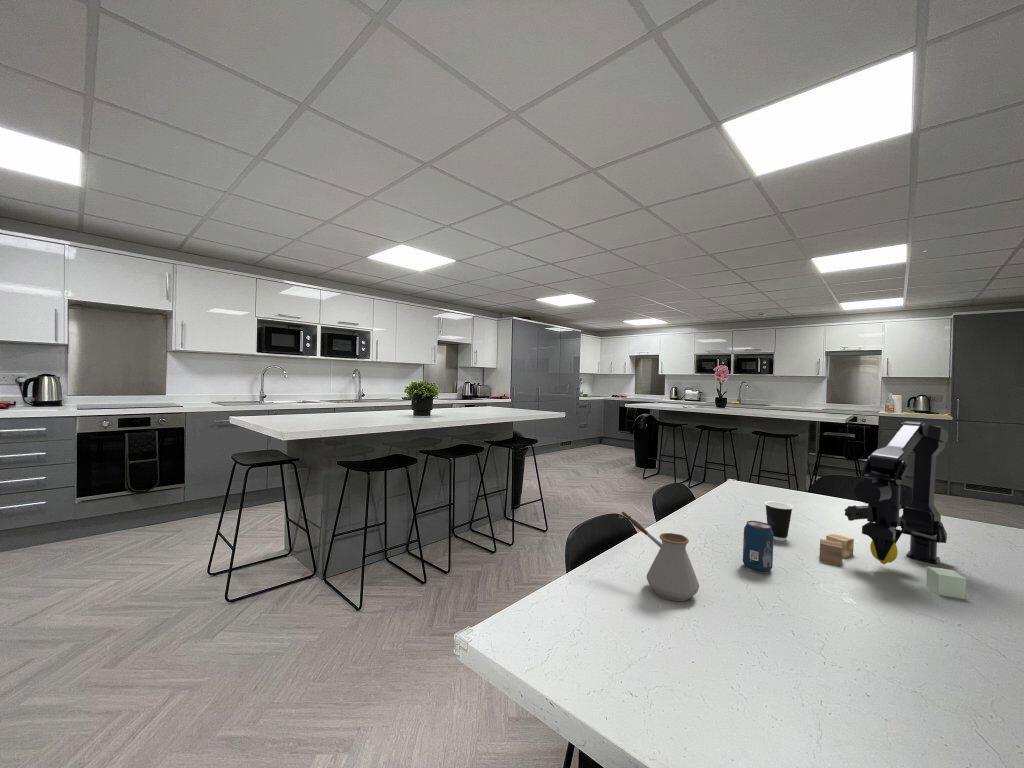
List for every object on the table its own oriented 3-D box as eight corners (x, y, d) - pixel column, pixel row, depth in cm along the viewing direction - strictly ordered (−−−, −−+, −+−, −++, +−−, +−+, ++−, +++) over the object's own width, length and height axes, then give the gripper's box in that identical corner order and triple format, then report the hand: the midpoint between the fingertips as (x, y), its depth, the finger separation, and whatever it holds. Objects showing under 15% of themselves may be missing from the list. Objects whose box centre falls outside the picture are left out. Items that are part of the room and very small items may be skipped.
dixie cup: (794, 538, 137) (795, 505, 137) (788, 544, 132) (789, 509, 132) (767, 532, 143) (768, 500, 143) (760, 537, 137) (761, 503, 137)
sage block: (926, 585, 106) (927, 566, 106) (952, 590, 104) (952, 570, 104) (937, 594, 102) (938, 574, 102) (965, 599, 100) (965, 578, 100)
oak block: (833, 549, 129) (834, 533, 129) (853, 555, 125) (853, 538, 125) (825, 551, 127) (826, 535, 127) (845, 558, 123) (845, 541, 123)
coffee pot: (708, 596, 96) (711, 531, 96) (680, 611, 89) (683, 541, 89) (632, 562, 113) (634, 507, 113) (603, 572, 106) (606, 514, 106)
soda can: (747, 560, 117) (748, 518, 117) (775, 569, 112) (777, 524, 113) (738, 567, 113) (740, 523, 113) (768, 577, 108) (769, 530, 108)
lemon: (902, 569, 110) (903, 539, 110) (878, 567, 112) (879, 537, 112) (888, 561, 116) (889, 532, 116) (865, 558, 117) (866, 530, 117)
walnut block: (819, 555, 124) (820, 538, 124) (840, 560, 121) (841, 543, 121) (819, 560, 120) (820, 543, 120) (841, 565, 117) (842, 548, 117)
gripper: (856, 489, 126) (855, 540, 126) (839, 498, 114) (837, 555, 114) (907, 497, 117) (905, 553, 117) (893, 508, 105) (891, 570, 105)
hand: (883, 557), depth 114 cm, fingers closed on lemon, 5 cm apart
